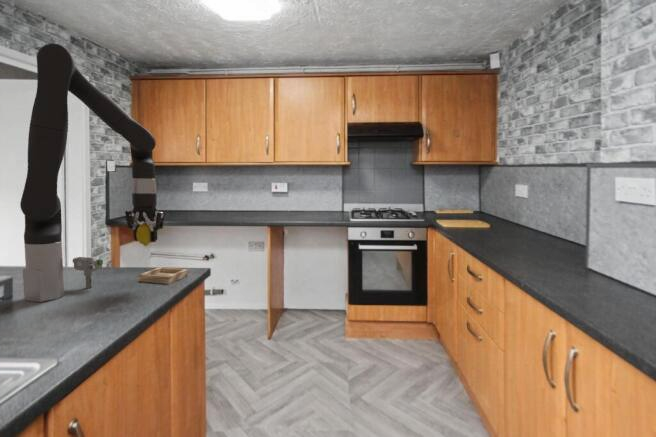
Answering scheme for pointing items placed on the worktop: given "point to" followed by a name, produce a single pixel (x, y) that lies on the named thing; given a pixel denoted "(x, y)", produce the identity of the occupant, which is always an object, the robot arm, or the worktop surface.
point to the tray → (163, 275)
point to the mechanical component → (87, 267)
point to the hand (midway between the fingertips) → (145, 241)
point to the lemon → (143, 234)
